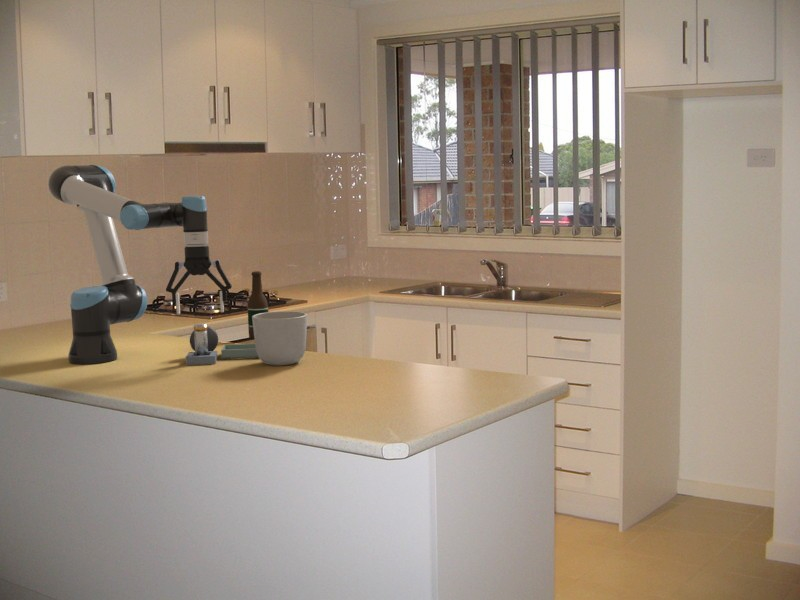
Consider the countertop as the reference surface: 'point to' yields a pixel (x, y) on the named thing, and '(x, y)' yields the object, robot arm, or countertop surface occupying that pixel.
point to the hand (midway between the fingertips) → (200, 312)
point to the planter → (280, 336)
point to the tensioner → (212, 344)
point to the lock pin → (200, 339)
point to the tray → (239, 351)
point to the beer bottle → (256, 301)
